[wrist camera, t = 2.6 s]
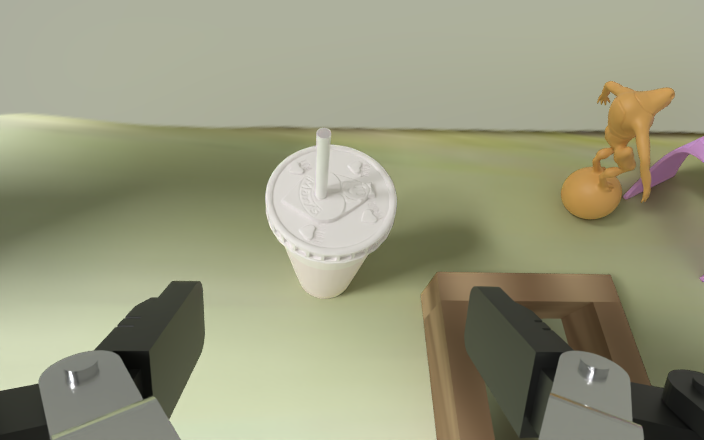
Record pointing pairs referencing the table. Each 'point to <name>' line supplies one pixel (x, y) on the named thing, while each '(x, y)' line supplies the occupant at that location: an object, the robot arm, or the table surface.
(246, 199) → the table surface
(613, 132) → the figurine
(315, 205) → the smoothie
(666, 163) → the toy chair
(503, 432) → the holder
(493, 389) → the robot arm
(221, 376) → the table surface
